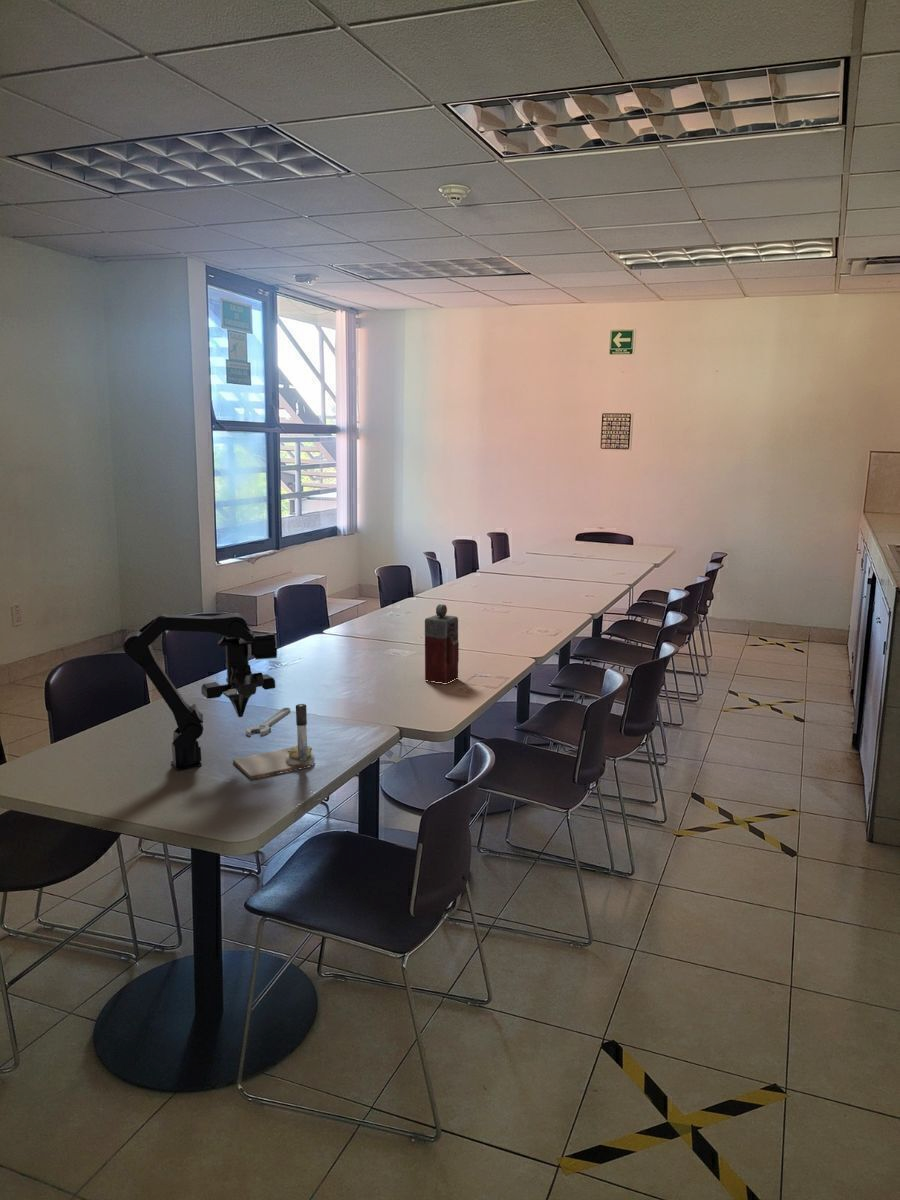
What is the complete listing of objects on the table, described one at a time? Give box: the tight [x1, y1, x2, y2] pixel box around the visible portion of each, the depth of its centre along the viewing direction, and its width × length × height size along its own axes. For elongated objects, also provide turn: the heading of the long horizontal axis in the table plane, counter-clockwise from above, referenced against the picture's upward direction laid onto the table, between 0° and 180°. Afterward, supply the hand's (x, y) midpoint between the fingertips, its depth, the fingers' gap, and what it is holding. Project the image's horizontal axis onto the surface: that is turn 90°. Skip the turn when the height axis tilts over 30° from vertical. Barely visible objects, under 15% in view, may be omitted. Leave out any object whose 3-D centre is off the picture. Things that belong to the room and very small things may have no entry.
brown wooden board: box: [232, 747, 316, 780], centre depth 228 cm, size 19×14×2 cm
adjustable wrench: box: [245, 707, 291, 737], centre depth 261 cm, size 25×6×2 cm, turn 162°
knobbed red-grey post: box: [424, 603, 460, 683], centre depth 305 cm, size 9×11×28 cm
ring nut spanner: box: [288, 703, 313, 761], centre depth 224 cm, size 10×6×16 cm, turn 17°
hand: (240, 716), depth 229 cm, fingers closed
